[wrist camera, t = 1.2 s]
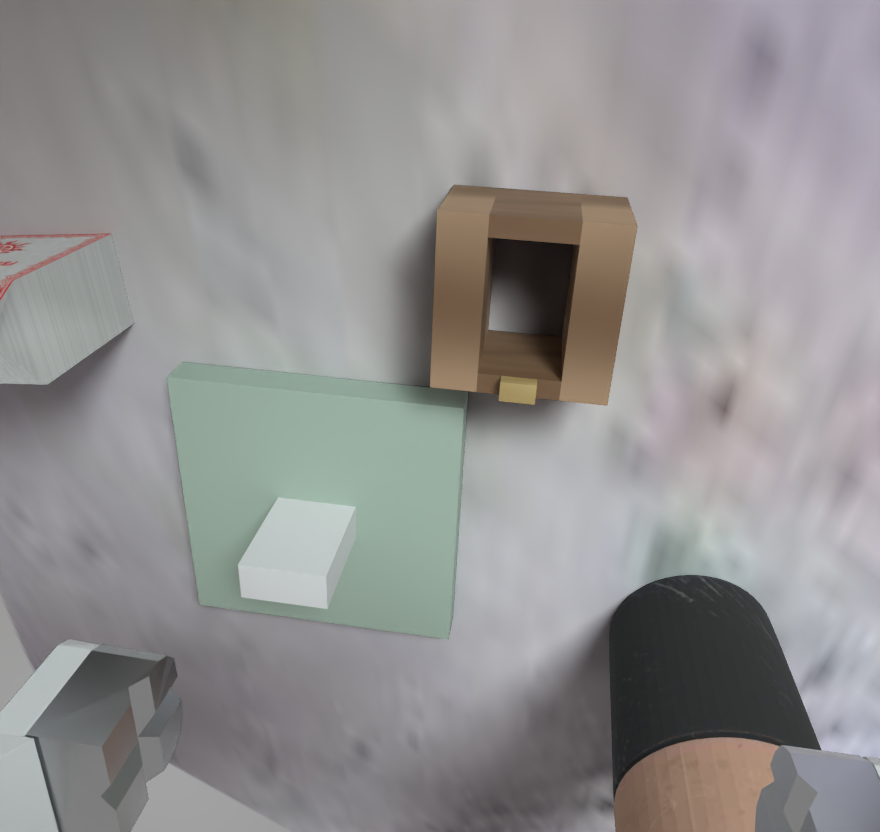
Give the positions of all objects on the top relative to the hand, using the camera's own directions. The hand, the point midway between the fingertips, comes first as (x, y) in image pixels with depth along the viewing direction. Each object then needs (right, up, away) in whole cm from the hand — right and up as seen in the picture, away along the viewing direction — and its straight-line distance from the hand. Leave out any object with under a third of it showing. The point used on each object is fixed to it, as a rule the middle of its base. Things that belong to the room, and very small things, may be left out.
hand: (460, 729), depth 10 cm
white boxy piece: (-16, +10, +20) cm, 28 cm away
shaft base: (-5, +1, +23) cm, 24 cm away
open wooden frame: (+3, +9, +17) cm, 20 cm away
